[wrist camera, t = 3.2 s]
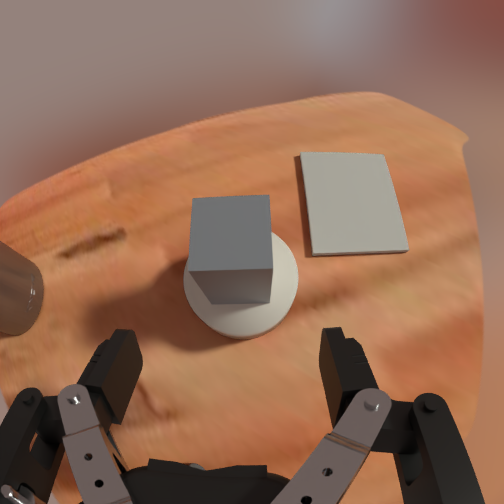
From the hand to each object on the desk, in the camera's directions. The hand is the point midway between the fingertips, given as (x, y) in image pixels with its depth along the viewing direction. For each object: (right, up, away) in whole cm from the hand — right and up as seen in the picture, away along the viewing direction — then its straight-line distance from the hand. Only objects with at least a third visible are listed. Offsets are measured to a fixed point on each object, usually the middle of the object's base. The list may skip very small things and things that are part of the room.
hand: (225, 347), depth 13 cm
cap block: (0, +2, +12) cm, 12 cm away
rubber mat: (+12, +9, +19) cm, 24 cm away
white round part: (0, +1, +15) cm, 15 cm away
